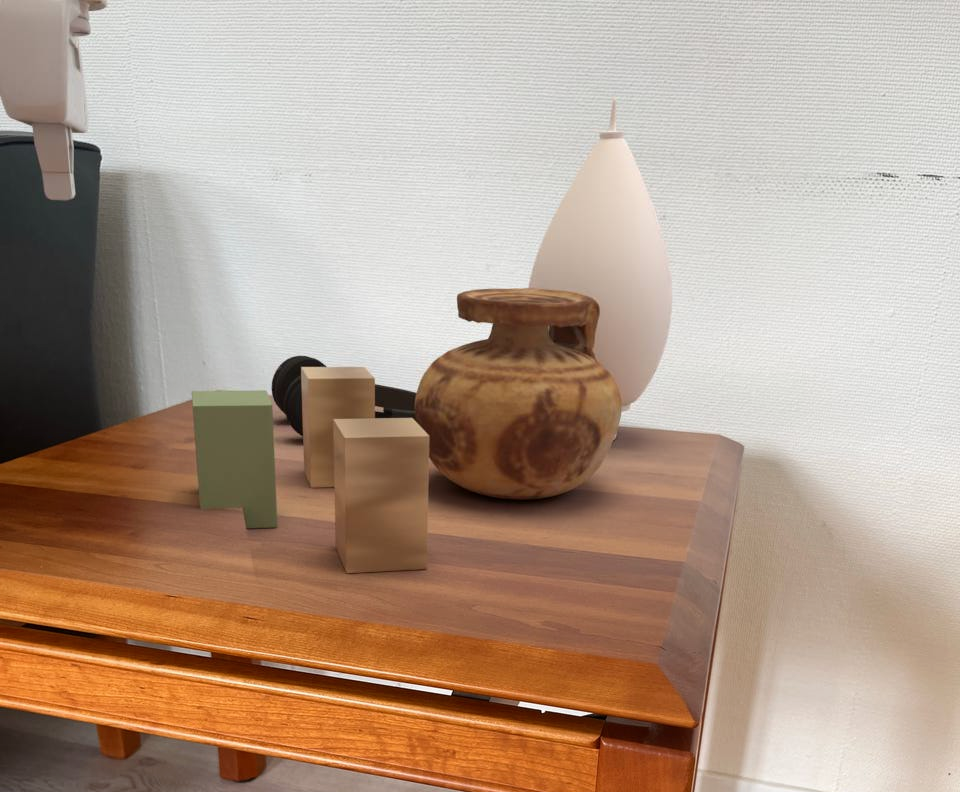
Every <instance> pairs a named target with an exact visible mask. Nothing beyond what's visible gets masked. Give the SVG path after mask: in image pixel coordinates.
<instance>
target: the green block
mask: <svg viewBox="0 0 960 792" xmlns="http://www.w3.org/2000/svg"><path fill="white" fill-rule="evenodd" d="M191 404H192V417H193V431H194V432H193V434H194V445H195V446H194V447H195V456H196V457H195V458H196V472H197V484H198V498H199V509H200V510H216V509H242V513H243V518H244V524H245V529H246V530H249V529H250V530H251V529H270V528H278V507H277V505H278V504H277V482H276V480H277V479H276V461H275V460H276V459H275V438H274V437H275V435H274V417H273V416H274V414H273V413H274V412H273V403H272V400H271V398H270V396H269V393H268V391H267V390H265V389H264V390H260V389H259V390H257V389H256V390H192V391H191Z"/></svg>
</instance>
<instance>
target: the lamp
mask: <svg viewBox="0 0 960 792" xmlns="http://www.w3.org/2000/svg"><path fill="white" fill-rule="evenodd" d="M617 102H618V101H617V98H616V97H614V98H613V100H612V105H611V112H610V118H609V125H608V131H606V130H605V131H599V136H598V137H599V139H598V140H597V142H596V144H595V145H594V146H593V148H592V149H591V151H590V153H589V154H588V156H587V157H586V160H584V162H583V164H582V165H581V167H580V169H579V171H578V172H577V173H576V175H575V177H574V179H573V180H572V182H571V183H570V185H569V186H568V189H567V191H566V193H565V194H564V196H563V198H562V199H561V201H560V203H559V205H558V207H557V208H556V211H555V213H554V214H553V217H552V218H551V220H550V223H549V225H548V227H547V229H546V232H545V234H544V235H543V238H542V241H541V244H540V245H539V248H538V251H537V253H536V256H535V258H534V259H535V260H534V263H533V266H532V269H531V273H530V277H529V283H528V287H527V288H533V289H546V290H557V291H567V292H573V293H578V294H581V295H585V296H588V297H591V298H592V299H594V300H595V301H596V302H597V303H598V304H599V307H600V316H599V319H598V323H597V328H596V332H595V343H594V347H593V352H594V354H595V358H596V360H597V362H599V363H600V364H601V365H602V366H603V367H604V368H605V369H606V370H607V371H608V372H609V373H610V374H611V376H612V377H613V378H614V380H615V381H616V384H617V386H618V388H619V391H620V394H621V400H622V411H621V413H623V412H627V411H629V410H630V409H631V404H633V403H635V402H636V401H638V399H639V398H640V397H641V396H642V395H643V393H644V392H645V391H646V389H647V388H648V386H649V385H650V383H651V381H652V379H653V377H654V375H655V373H656V372H657V369H658V367H659V365H660V362H661V360H662V357H663V355H664V352H665V348H666V345H667V342H668V337H669V333H670V327H671V320H672V313H673V281H672V272H671V265H670V260H669V259H670V258H669V254H668V250H667V245H666V242H665V239H664V238H665V237H664V235H663V230H662V228H661V224H660V222H659V218H658V214H657V211H656V209H655V207H654V204H653V202H652V199H651V196H650V193H649V191H648V188H647V186H646V183H645V181H644V178H643V176H642V173H641V171H640V169H639V166H638V164H637V162H636V160H635V157H634V154H633V152H632V151H631V149H630V147H629V144H628V142H627V140H626V139H625V138H624V135H625V133H626V131H617V106H618V105H617ZM548 331H549V326H548ZM616 435H617V434H616ZM616 435H615V436H616Z"/></svg>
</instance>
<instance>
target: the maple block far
mask: <svg viewBox="0 0 960 792" xmlns="http://www.w3.org/2000/svg"><path fill="white" fill-rule="evenodd" d="M301 383H302V415H303V436H302V443H303V446H302V447H303V471H304V473H305V476H306V478H307V481H308V484H309V486H310V488H311V489H313V488H315V489H316V488H334V435H333V419H369V418H375V411H376V406H375V384H376V377H374V375H372V373H371V372H370V371H369V370H368V369H367V368H366V367H365V366H327V367H301Z"/></svg>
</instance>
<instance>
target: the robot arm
mask: <svg viewBox="0 0 960 792" xmlns="http://www.w3.org/2000/svg"><path fill="white" fill-rule="evenodd" d="M108 4H109V3H108V0H0V100H1V103H2V106H3V109H4V111H5V114H6V115H7V117H8V118H10V119H11V120H14V121H17V122H20V123H22V124H25V125H27V126H30V127H32V136H33V142H34V147H35V148H34V149H35V151H36V155H37V160H38V163H39V166H40V171H41V175H42V185H43V191H44V195H45V197H46V199H49V200H51V201H70V200H72V199H74V198H75V196H76V187H75V185H76V184H75V176H74V163H75V161H74V153H75V152H74V151H75V149H74V148H75V147H74V137H73V134H85V133H87V132H88V130H89V112H88V110H89V109H88V103H87V94H86V92H87V91H86V85H85V77H84V69H83V60H82V52H81V45H80V39H79V37H86V36H89V35H90V34H92V28H91V22H90V20H91V18H90V12H95V11H100V10H101V11H102V10H105V9H106V8H107V7H108V6H109V5H108Z"/></svg>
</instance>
